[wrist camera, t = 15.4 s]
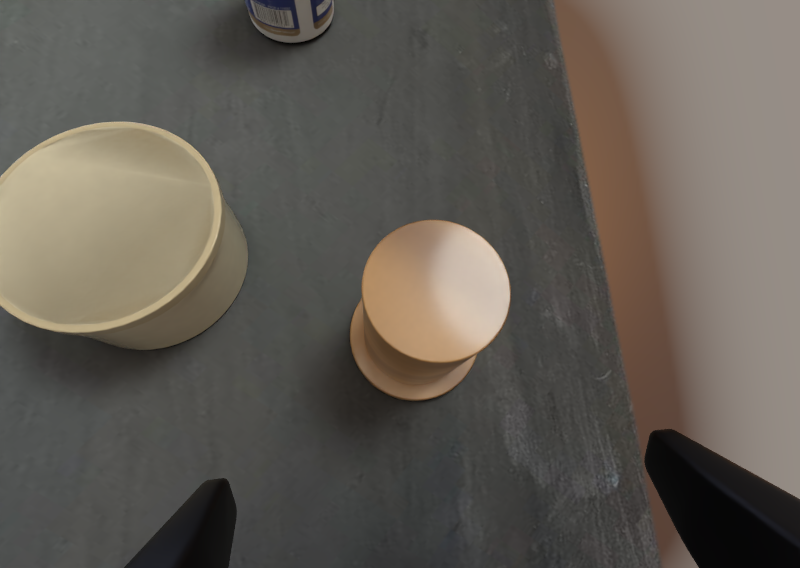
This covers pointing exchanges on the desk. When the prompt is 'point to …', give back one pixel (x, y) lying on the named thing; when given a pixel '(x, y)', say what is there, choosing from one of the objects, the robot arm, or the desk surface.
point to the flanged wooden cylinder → (428, 308)
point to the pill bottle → (291, 18)
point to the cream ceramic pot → (118, 237)
